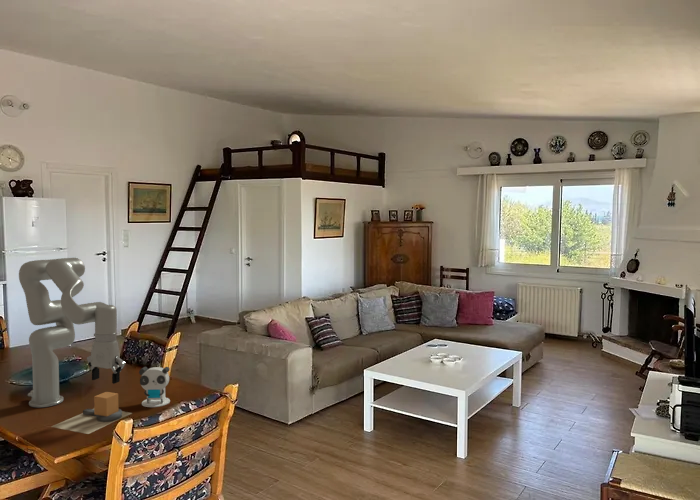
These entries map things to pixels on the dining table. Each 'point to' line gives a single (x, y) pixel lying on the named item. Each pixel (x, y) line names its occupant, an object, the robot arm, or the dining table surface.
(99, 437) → the dining table surface
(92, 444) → the dining table surface
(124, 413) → the board
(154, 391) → the panda figurine
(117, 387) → the dining table surface
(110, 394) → the tan wooden cube
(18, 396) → the dining table surface
